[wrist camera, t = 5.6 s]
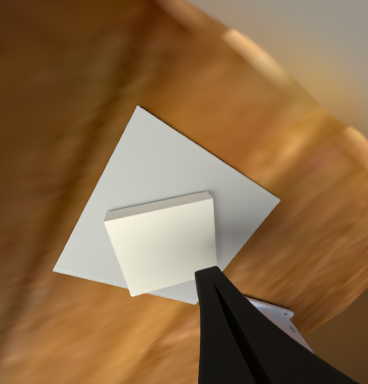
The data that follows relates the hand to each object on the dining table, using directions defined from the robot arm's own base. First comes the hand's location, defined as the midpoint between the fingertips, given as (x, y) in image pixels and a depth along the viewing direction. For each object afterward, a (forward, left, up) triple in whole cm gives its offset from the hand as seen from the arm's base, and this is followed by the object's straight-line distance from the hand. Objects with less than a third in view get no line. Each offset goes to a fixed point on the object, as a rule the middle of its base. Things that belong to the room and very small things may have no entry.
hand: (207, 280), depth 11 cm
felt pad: (+1, 0, -5) cm, 5 cm away
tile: (-1, -1, -4) cm, 4 cm away
